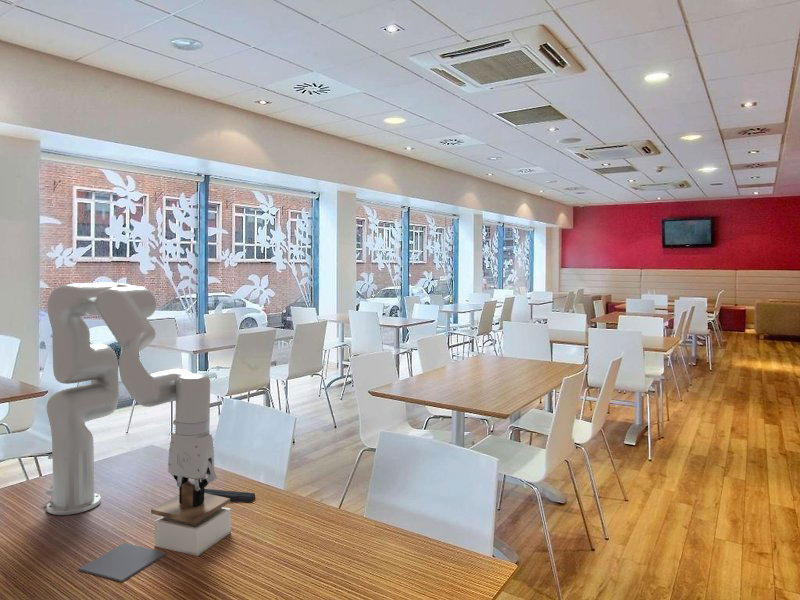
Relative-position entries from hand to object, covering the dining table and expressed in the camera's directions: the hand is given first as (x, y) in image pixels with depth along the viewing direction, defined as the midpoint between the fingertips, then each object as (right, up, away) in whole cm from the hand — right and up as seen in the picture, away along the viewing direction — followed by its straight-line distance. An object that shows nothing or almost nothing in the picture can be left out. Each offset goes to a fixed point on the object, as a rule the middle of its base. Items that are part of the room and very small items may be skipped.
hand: (191, 502), depth 133 cm
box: (0, -9, 0) cm, 9 cm away
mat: (-11, -9, -10) cm, 18 cm away
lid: (0, -1, 0) cm, 1 cm away
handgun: (-2, -8, +20) cm, 22 cm away
